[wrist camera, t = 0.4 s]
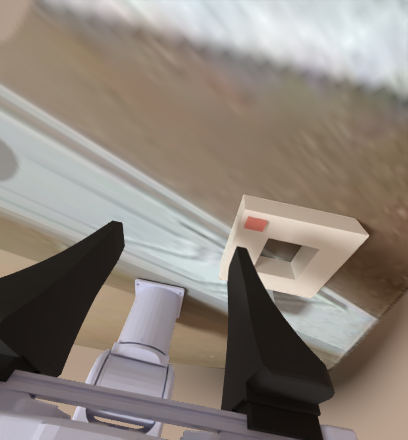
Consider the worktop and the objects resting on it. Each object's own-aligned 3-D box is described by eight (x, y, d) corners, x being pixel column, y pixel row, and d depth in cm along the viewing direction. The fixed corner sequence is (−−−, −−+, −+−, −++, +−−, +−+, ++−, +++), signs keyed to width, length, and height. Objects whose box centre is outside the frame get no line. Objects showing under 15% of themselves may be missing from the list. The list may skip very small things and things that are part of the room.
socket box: (304, 280, 28) (312, 301, 25) (220, 262, 28) (218, 281, 25) (355, 218, 21) (371, 238, 19) (243, 194, 21) (245, 211, 18)
